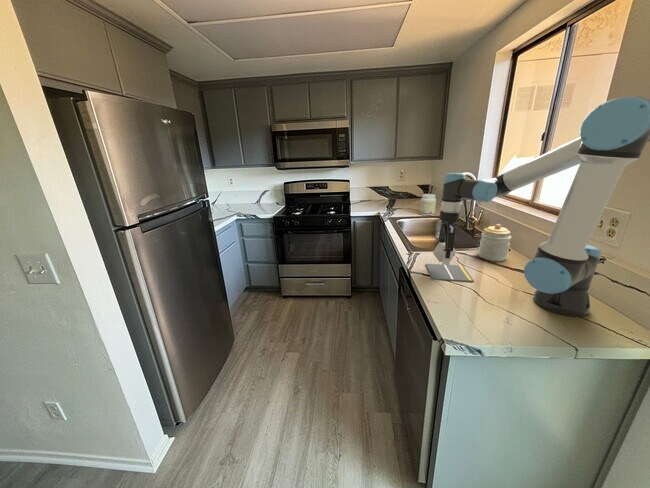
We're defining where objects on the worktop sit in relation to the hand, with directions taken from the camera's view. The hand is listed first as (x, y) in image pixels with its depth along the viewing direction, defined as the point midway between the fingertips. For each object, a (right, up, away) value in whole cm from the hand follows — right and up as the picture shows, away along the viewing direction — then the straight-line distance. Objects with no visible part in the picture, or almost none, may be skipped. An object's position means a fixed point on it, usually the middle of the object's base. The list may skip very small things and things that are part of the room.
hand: (443, 260), depth 119 cm
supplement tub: (+35, +32, +110) cm, 120 cm away
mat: (+3, -6, +2) cm, 7 cm away
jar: (+34, 0, +19) cm, 39 cm away
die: (0, 0, 0) cm, 0 cm away
